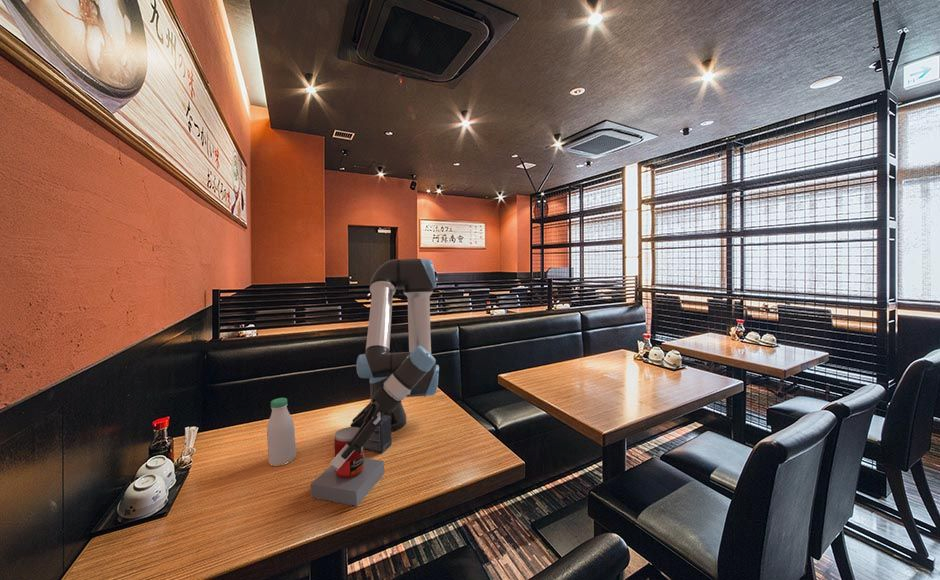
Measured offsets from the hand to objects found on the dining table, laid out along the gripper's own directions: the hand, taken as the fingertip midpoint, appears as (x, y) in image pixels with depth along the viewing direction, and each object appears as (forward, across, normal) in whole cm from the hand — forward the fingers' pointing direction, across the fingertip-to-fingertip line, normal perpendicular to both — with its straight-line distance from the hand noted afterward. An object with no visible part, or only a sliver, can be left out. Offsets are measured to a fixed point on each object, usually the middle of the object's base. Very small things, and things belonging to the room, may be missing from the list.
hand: (336, 455), depth 94 cm
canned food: (+1, 0, -6) cm, 6 cm away
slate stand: (+4, 0, -9) cm, 10 cm away
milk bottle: (+20, +20, +6) cm, 29 cm away
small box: (-1, +19, -14) cm, 24 cm away
